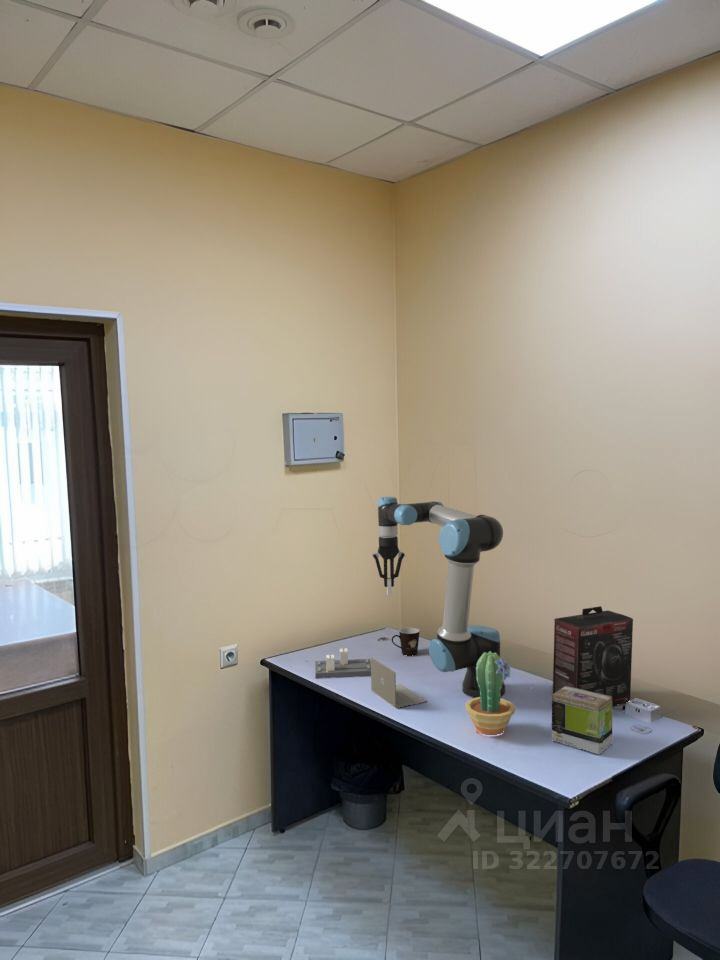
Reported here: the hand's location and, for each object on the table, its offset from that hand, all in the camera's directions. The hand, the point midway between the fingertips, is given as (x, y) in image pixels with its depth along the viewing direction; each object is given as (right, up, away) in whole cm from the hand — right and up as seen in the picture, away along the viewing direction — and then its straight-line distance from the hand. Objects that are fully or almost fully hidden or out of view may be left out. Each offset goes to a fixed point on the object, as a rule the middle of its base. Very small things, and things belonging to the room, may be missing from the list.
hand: (389, 594), depth 277 cm
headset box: (+68, -31, -40) cm, 84 cm away
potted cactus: (+29, -33, -60) cm, 74 cm away
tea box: (+55, -33, -69) cm, 94 cm away
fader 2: (-18, -27, -1) cm, 32 cm away
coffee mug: (+8, -27, +15) cm, 32 cm away
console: (-18, -29, -4) cm, 35 cm away
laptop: (+2, -31, -31) cm, 44 cm away
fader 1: (-23, -27, -8) cm, 37 cm away
